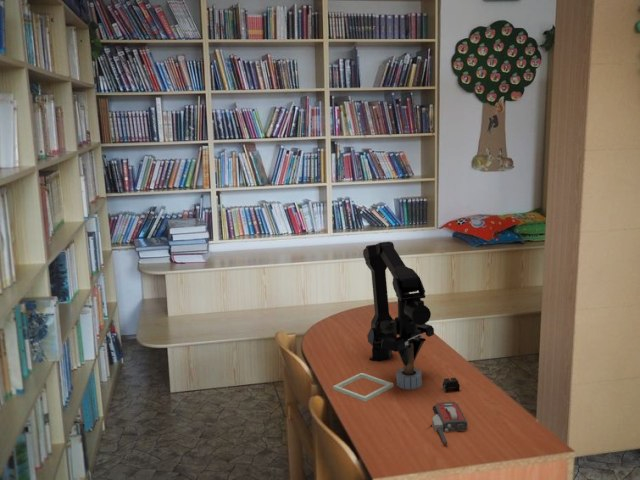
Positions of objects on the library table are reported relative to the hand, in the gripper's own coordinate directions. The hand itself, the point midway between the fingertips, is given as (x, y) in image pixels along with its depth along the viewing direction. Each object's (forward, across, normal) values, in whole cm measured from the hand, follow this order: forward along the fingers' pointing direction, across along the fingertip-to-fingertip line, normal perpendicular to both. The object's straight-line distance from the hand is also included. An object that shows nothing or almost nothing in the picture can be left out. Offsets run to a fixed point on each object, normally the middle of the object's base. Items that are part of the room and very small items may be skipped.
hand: (408, 363), depth 198 cm
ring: (+8, 0, 0) cm, 8 cm away
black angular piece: (+8, -4, +12) cm, 15 cm away
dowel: (+5, 0, 0) cm, 5 cm away
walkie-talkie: (+8, +13, +23) cm, 28 cm away
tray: (+8, +11, -9) cm, 16 cm away
